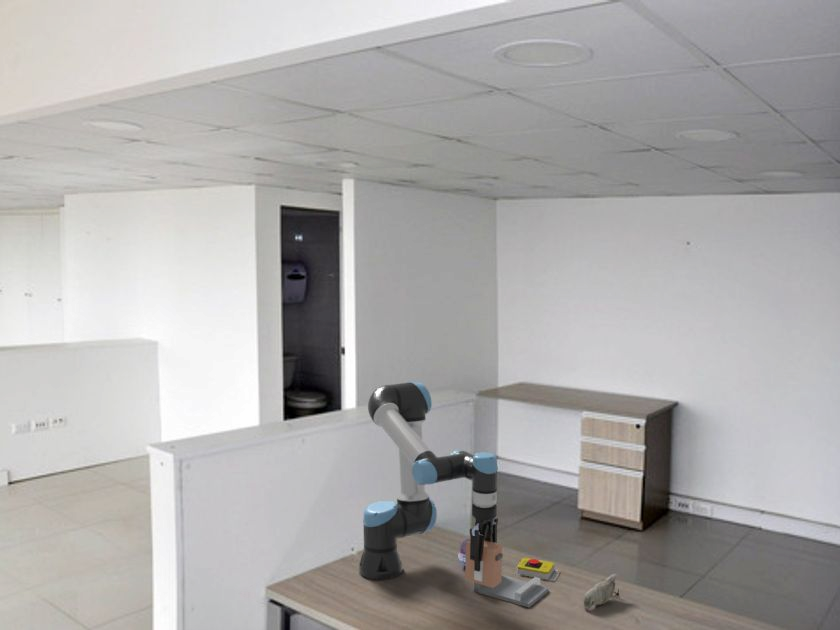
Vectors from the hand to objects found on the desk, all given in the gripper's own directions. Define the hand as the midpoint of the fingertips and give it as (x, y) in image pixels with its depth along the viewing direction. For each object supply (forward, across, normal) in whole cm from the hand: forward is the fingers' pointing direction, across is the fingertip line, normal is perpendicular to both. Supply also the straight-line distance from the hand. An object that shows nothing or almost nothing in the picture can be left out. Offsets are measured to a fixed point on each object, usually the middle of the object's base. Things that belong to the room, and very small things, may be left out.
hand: (483, 576), depth 227 cm
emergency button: (+11, +34, -2) cm, 36 cm away
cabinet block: (+1, 0, 0) cm, 1 cm away
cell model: (+11, +26, +19) cm, 34 cm away
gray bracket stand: (+10, +16, -2) cm, 19 cm away
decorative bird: (+10, +24, -29) cm, 39 cm away
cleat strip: (+9, +16, -8) cm, 20 cm away
